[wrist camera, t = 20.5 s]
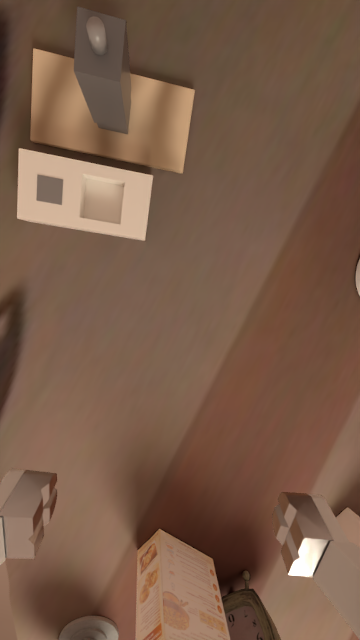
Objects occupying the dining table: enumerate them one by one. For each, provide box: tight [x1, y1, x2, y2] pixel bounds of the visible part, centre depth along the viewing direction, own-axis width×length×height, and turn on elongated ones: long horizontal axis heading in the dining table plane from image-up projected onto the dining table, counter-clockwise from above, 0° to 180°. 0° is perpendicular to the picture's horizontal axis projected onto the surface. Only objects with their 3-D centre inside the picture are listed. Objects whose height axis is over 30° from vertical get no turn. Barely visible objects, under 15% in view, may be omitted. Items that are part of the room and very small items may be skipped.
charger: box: [74, 6, 131, 134], centre depth 29 cm, size 4×5×14 cm
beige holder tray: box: [17, 148, 153, 241], centre depth 37 cm, size 16×8×4 cm, turn 81°
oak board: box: [30, 48, 195, 174], centre depth 36 cm, size 20×10×1 cm, turn 81°
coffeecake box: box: [136, 529, 230, 640], centre depth 47 cm, size 15×7×20 cm, turn 48°
